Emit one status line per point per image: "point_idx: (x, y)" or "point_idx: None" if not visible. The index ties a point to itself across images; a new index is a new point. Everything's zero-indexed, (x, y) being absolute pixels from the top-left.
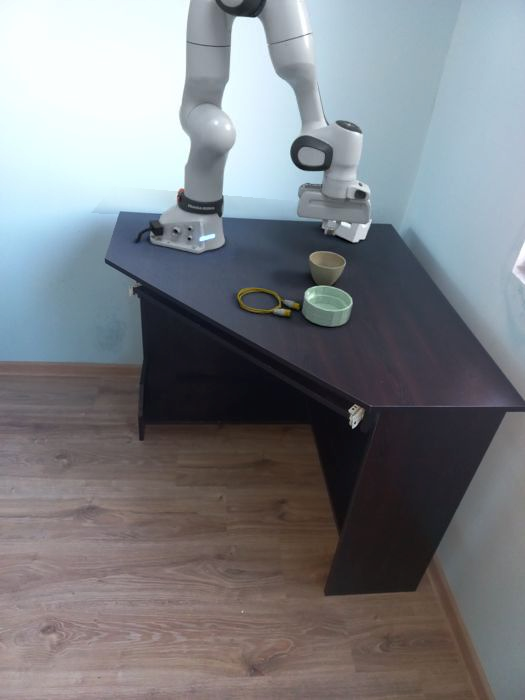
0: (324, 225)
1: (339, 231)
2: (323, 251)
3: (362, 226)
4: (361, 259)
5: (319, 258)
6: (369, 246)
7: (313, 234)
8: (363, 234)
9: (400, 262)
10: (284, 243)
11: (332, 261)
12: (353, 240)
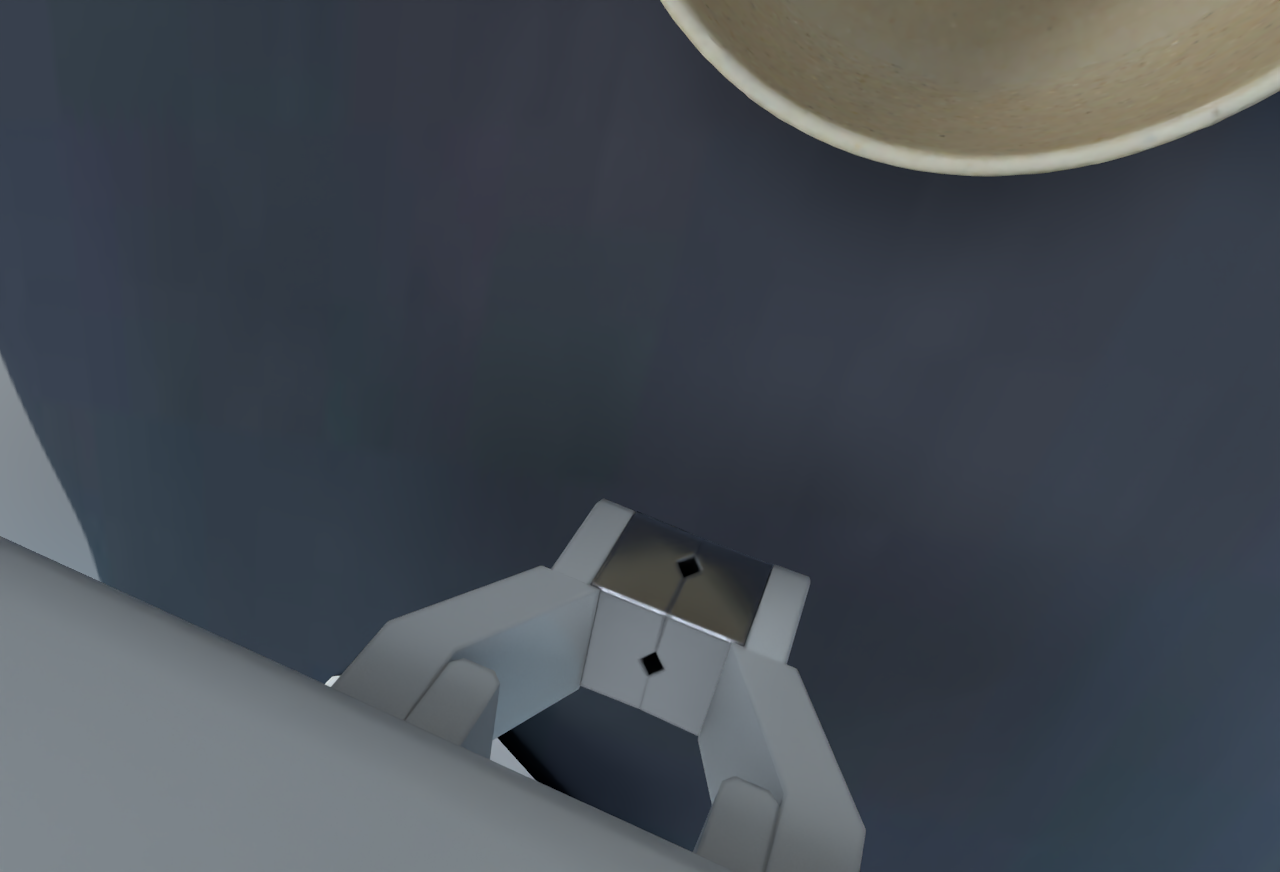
0: (813, 749)
1: None
2: (954, 170)
3: None
4: (381, 393)
5: (1045, 96)
6: (303, 582)
7: None
8: None
9: (75, 305)
10: (1108, 807)
11: (794, 13)
12: None
